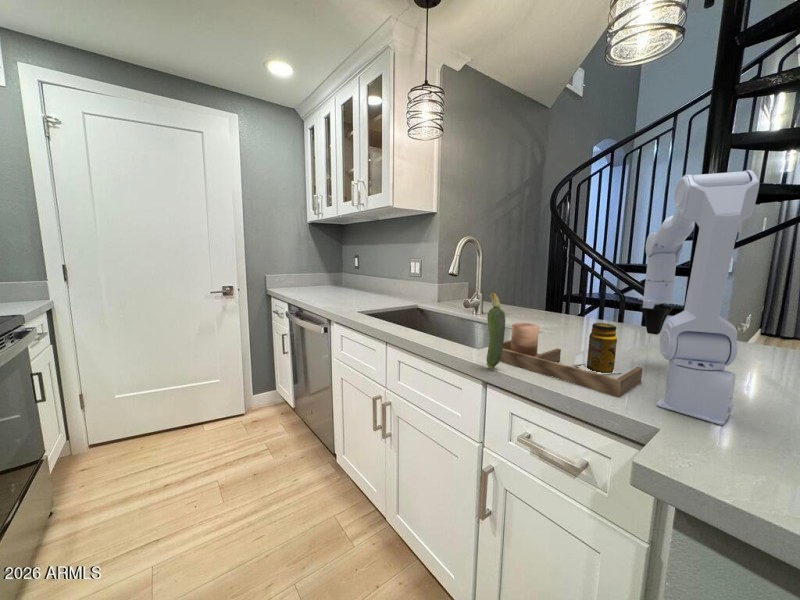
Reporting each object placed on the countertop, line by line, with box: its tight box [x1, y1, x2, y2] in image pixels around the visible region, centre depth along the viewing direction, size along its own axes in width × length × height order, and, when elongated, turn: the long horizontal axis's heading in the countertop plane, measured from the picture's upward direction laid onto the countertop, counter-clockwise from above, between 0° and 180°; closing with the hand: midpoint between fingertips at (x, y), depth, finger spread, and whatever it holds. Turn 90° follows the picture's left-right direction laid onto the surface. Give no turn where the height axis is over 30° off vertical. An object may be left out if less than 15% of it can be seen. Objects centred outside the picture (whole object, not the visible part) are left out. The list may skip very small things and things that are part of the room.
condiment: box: [573, 322, 623, 375], centre depth 84 cm, size 7×8×12 cm
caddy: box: [499, 322, 643, 398], centre depth 84 cm, size 33×14×10 cm, turn 38°
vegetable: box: [486, 292, 506, 370], centre depth 83 cm, size 4×4×20 cm
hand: (653, 333), depth 85 cm, fingers closed
